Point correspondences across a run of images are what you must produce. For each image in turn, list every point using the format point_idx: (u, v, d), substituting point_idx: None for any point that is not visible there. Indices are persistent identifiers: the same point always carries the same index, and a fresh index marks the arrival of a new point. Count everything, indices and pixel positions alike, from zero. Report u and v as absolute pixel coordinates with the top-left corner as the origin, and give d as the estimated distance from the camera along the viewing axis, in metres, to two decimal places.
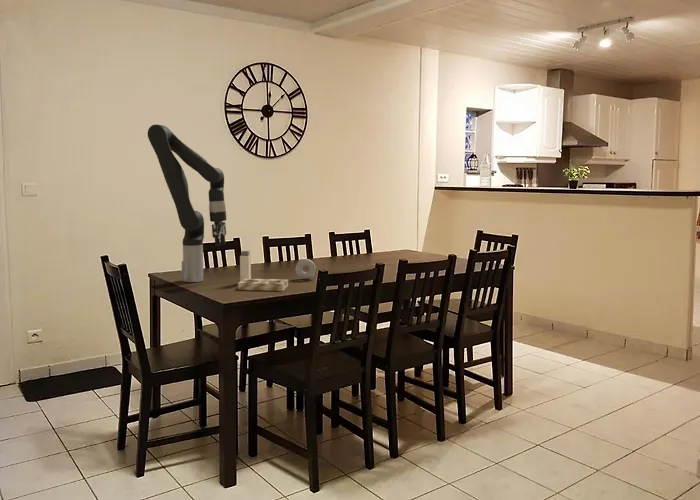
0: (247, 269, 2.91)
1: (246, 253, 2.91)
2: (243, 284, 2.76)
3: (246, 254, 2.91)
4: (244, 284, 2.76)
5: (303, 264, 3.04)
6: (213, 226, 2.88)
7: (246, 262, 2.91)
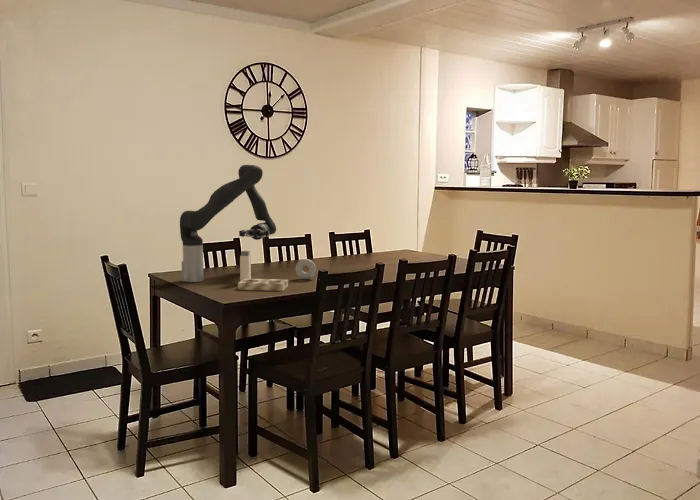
0: (247, 269, 2.91)
1: (246, 253, 2.91)
2: (243, 284, 2.76)
3: (246, 254, 2.91)
4: (244, 284, 2.76)
5: (303, 264, 3.04)
6: None
7: (246, 262, 2.91)
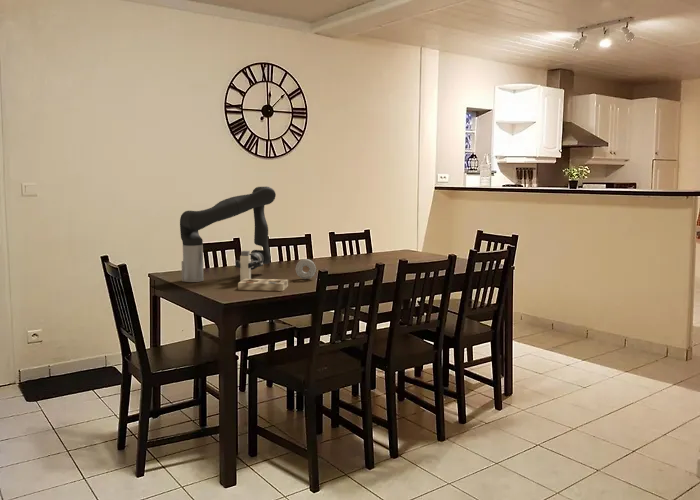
0: (247, 269, 2.91)
1: (246, 253, 2.91)
2: (243, 284, 2.76)
3: (246, 254, 2.91)
4: (244, 284, 2.76)
5: (303, 264, 3.04)
6: (262, 262, 2.98)
7: (246, 262, 2.91)
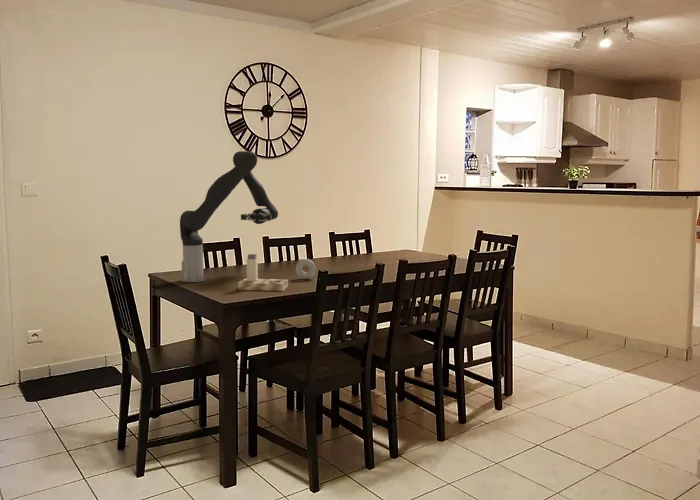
0: (254, 273, 2.79)
1: (253, 256, 2.79)
2: (243, 284, 2.76)
3: (253, 257, 2.79)
4: (244, 284, 2.76)
5: (303, 264, 3.04)
6: None
7: (253, 266, 2.79)
